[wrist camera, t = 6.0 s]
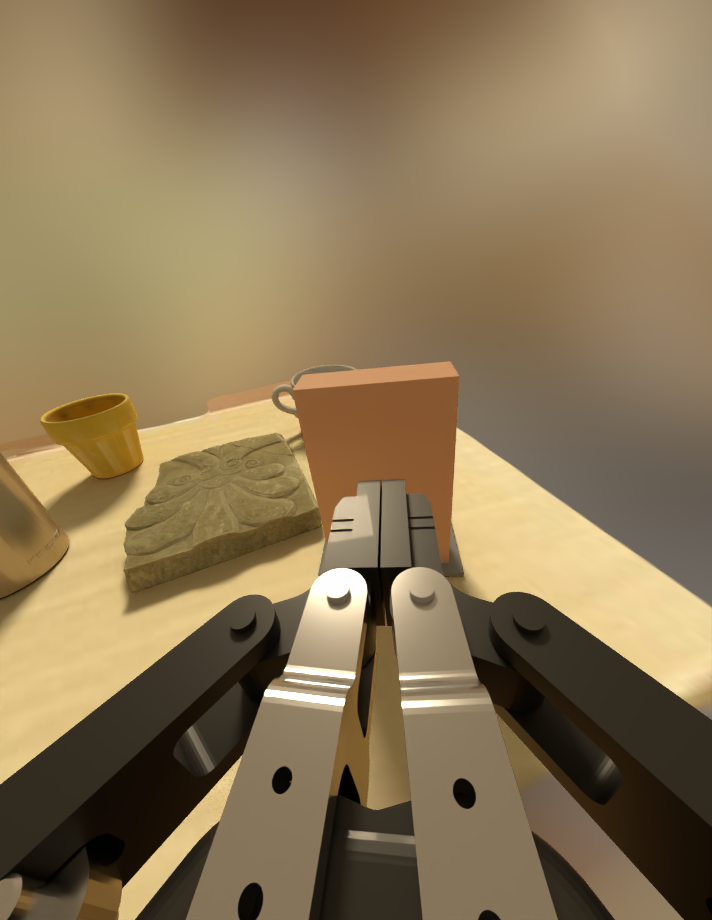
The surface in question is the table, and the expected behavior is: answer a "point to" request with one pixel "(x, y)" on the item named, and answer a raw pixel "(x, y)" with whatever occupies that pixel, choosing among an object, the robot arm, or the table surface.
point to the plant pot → (98, 433)
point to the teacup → (296, 378)
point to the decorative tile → (217, 509)
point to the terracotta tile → (382, 434)
